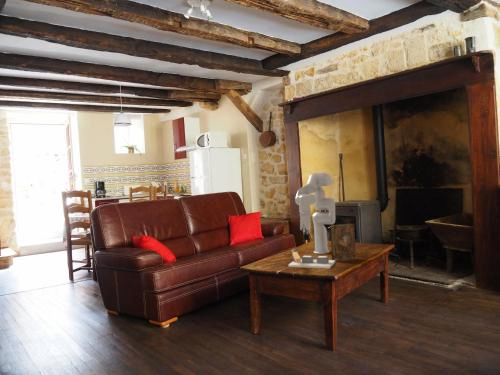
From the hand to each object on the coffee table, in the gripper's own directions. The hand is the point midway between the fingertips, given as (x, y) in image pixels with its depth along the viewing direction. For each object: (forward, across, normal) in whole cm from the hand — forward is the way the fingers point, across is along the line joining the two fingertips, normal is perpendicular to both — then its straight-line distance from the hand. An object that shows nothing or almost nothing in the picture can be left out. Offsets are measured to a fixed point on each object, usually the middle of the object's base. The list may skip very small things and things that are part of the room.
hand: (306, 239), depth 283 cm
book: (+17, -17, +22) cm, 33 cm away
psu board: (+17, 0, +3) cm, 17 cm away
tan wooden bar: (+11, +10, -5) cm, 16 cm away
